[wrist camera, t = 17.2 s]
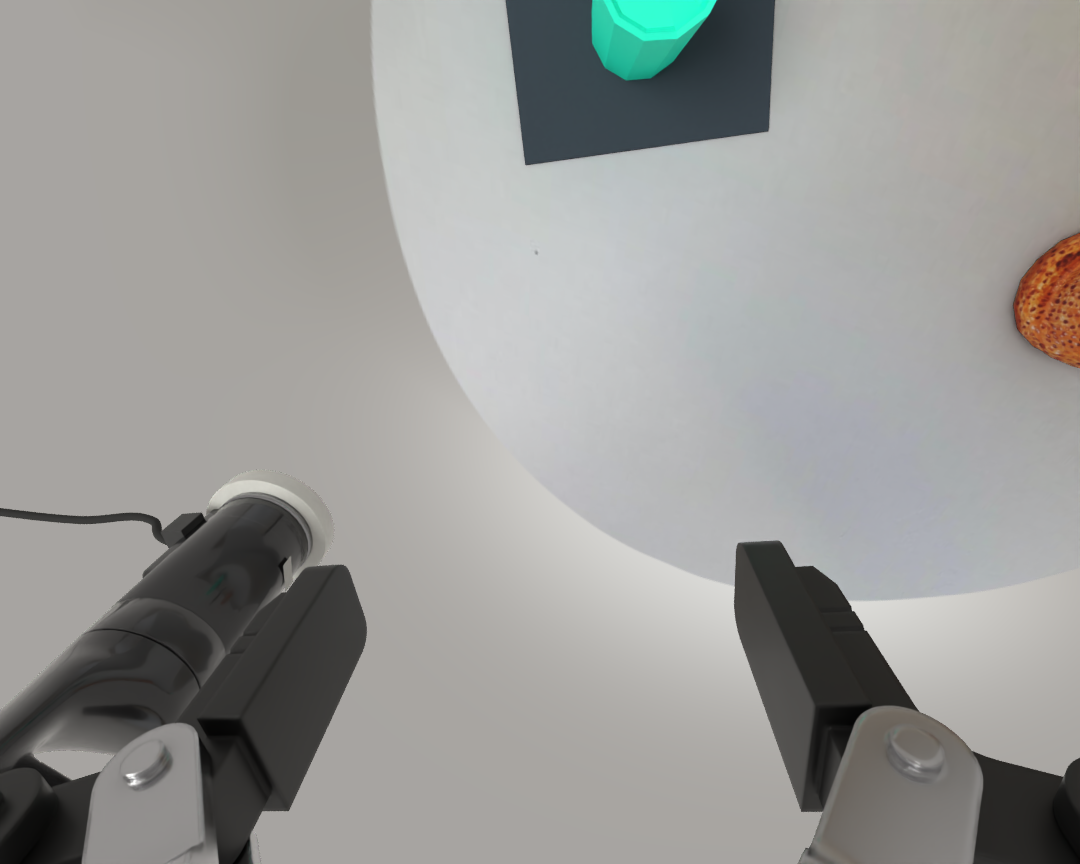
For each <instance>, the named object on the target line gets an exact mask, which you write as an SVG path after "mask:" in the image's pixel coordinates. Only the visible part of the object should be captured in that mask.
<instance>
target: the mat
mask: <svg viewBox="0 0 1080 864" xmlns="http://www.w3.org/2000/svg"><path fill="white" fill-rule="evenodd" d="M774 5H775V0H717V1H716V3H715V5H714V6H713V8H712V10H711V12H710V14H709V15H708V17H707V18H706V19H705V21H704V22H703V23H702V25H701V26H700V27H699V28H698V30H697V31H696V32H695V34H694V35H693V36H692V38H691V39H690V40H689V42H688V43H687V44H686V45H685V47H684V48H683V49H682V51H681V52H680V53H679V55H678V56H677V57H676V59H675V60H674V61H673V62H672V63H671V64H669V65H668V66H667V67H665V68H664V69H663V70H661V71H660V72H659V73H657V74H656V75H655V76H653V77H652V78H650V79H638V80H624V79H623V78H621V77H619V76H618V75H616V74H614V73H613V72H611V71H609V70H608V69H606V68H605V67H604V65H603V63H602V61H601V60H600V58H599V56H598V54H597V52H596V50H595V48H594V46H593V44H592V0H506V7H507V15H508V23H509V32H510V40H511V48H512V57H513V65H514V73H515V82H516V90H517V98H518V107H519V115H520V123H521V132H522V140H523V148H524V157H525V165H530V164H537V163H544V162H551V161H558V160H565V159H572V158H579V157H587V156H594V155H601V154H608V153H615V152H622V151H629V150H637V149H644V148H651V147H658V146H665V145H672V144H679V143H686V142H694V141H701V140H708V139H715V138H722V137H729V136H736V135H743V134H751V133H758V132H765V131H768V128H769V107H770V87H771V66H772V46H773V25H774Z"/></svg>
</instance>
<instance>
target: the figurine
mask: <svg viewBox="0 0 1080 864" xmlns="http://www.w3.org/2000/svg"><path fill="white" fill-rule="evenodd" d="M1013 306H1014V313H1015V319H1016V325H1017V329H1018V330H1019V331H1020V333H1021V334H1022V335H1023V336H1024V337H1025V338H1026V339H1027V340H1028V341H1029V342H1030V343H1031V345H1032V346H1034V347H1036V348H1038V349H1039V350H1041V351H1043V352H1044V353H1046V354H1047V355H1049V356H1050V357H1052V358H1054V359H1057V360H1059V361H1061V362H1064V363H1066V364H1068V365H1071V366H1074V367H1078V368H1080V233H1078V234H1076V235H1074V236H1072V237H1069V238H1067V239H1065V240H1062V241H1060V242H1059V243H1057V244H1056V245H1055V246H1054V247H1052V248H1051V249H1050V250H1049V251H1047V252H1046V253H1045V254H1044V255H1042V256H1041V257H1040V258H1039V259H1037V261H1036V262H1035V263H1034V264H1033V266H1032V267H1031V268H1030V269H1029V270H1028V272H1027V273H1026V274H1025V275H1024V277H1023V278H1022V279H1021V281H1020V284H1019V288H1018V291H1017V294H1016V297H1015V301H1014V304H1013Z"/></svg>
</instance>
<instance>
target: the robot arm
mask: <svg viewBox="0 0 1080 864" xmlns="http://www.w3.org/2000/svg"><path fill="white" fill-rule="evenodd" d="M0 516H6V517H13V518H22V519H30V520H40V521H49V522H60V523H73V524H96V523H107V522H115V521H128V520H136V521H143V522H146V523H149V524H151V525H152V532H153V535H154V537H155V538H156V539H157V540H158V541H160V542H161V543H163V544H165V545H167V546H168V548H169V549H168V550H167V551H166V552H165V553H164V554H163V555H161V556H160V557H159V558H158V559H157V560H156V561H155V562H154V563H152V564H151V565H150V566H149V567H148V568H147V569H146V570H145V571H144V573H143V579H142V580H141V581H140V582H139V583H138V584H137V585H136V586H134V587H133V588H132V589H131V590H130V591H129V592H128V593H127V594H126V595H124V596H123V597H122V598H121V599H120V600H119V601H118V602H117V603H116V604H115V605H113V606H112V607H111V608H110V609H109V610H108V611H107V612H106V613H105V614H104V615H103V616H102V617H101V618H99V619H98V620H97V621H96V622H95V623H94V624H93V625H92V626H91V627H89V628H88V629H87V630H86V631H85V632H84V633H83V634H82V635H81V636H79V637H78V638H77V639H76V640H75V641H74V642H73V643H72V644H71V645H70V646H68V647H67V648H66V649H65V650H64V651H63V652H62V653H61V654H60V655H59V656H58V657H57V658H56V659H55V660H54V661H53V662H51V663H50V665H48V666H47V667H46V668H45V669H44V670H43V671H42V672H41V673H40V674H39V675H38V676H37V677H36V678H35V679H34V680H33V681H31V682H30V683H29V684H28V685H27V686H26V687H25V688H24V689H23V690H22V691H21V692H19V693H18V694H17V695H16V696H15V697H14V698H13V699H12V700H11V701H10V702H9V703H7V704H6V705H5V706H4V707H3V708H2V709H1V710H0V864H261V859H260V852H259V845H258V839H257V835H256V833H255V832H254V830H253V828H254V826H255V824H256V822H257V820H258V818H259V816H260V814H261V812H262V811H289V809H290V807H291V805H292V803H293V801H294V799H295V796H296V794H297V792H298V790H299V788H300V785H301V783H302V781H303V779H304V777H305V775H306V773H307V771H308V768H309V766H310V764H311V762H312V760H313V758H314V755H315V753H316V751H317V749H318V747H319V744H320V742H321V740H322V738H323V736H324V734H325V732H326V729H327V727H328V725H329V723H330V721H331V719H332V716H333V714H334V712H335V710H336V708H337V705H338V703H339V701H340V699H341V697H342V695H343V693H344V691H345V688H346V686H347V684H348V682H349V680H350V677H351V675H352V673H353V671H354V669H355V667H356V664H357V662H358V660H359V658H360V656H361V654H362V652H363V649H364V646H365V642H366V634H367V627H366V620H365V616H364V613H363V610H362V607H361V605H360V602H359V599H358V596H357V593H356V590H355V587H354V584H353V581H352V578H351V575H350V572H349V570H348V569H347V567H346V566H344V565H329V566H310V567H306V568H305V569H304V570H303V571H302V572H301V573H300V574H299V576H298V577H297V579H296V580H295V582H294V583H293V584H292V586H291V587H290V588H289V590H288V591H287V592H285V593H281V592H282V591H283V589H284V588H285V591H286V590H287V589H288V587H289V586H290V585H291V583H292V582H293V578H292V577H293V576H294V574H295V573H296V572H297V570H298V569H299V568H300V567H301V566H302V565H303V564H304V562H305V561H306V560H307V558H308V557H309V555H310V553H311V550H312V546H313V538H312V533H311V530H310V528H309V525H308V523H307V522H306V520H305V519H304V517H303V516H302V515H301V514H300V513H299V512H298V511H297V510H296V509H295V508H294V507H293V506H291V505H290V504H289V503H287V502H285V501H284V500H282V499H280V498H278V497H275V496H272V495H269V494H265V493H259V492H247V493H242V494H238V495H236V496H234V497H232V498H230V499H229V500H228V501H227V502H225V503H224V504H223V505H222V506H221V507H220V508H219V509H213V510H212V511H211V512H210V513H209V514H207V515H206V516H205V517H204V516H203V514H202V513H189V514H182V515H181V516H179V517H178V518H177V519H176V520H174V521H173V522H172V523H171V524H170V525H168V526H167V527H166V528H165V529H164V530H162V527H161V523H160V521H159V520H158V519H157V518H155V517H153V516H150V515H146V514H142V513H120V514H111V515H101V516H67V515H55V514H46V513H36V512H28V511H27V512H26V511H19V510H11V509H3V508H0ZM734 609H735V618H736V624H737V628H738V633H739V636H740V639H741V642H742V645H743V648H744V651H745V653H746V656H747V659H748V662H749V665H750V668H751V671H752V673H753V676H754V679H755V682H756V685H757V687H758V690H759V693H760V696H761V699H762V702H763V704H764V707H765V710H766V713H767V716H768V719H769V721H770V724H771V727H772V730H773V733H774V736H775V738H776V741H777V744H778V747H779V750H780V752H781V755H782V758H783V761H784V764H785V767H786V769H787V772H788V775H789V778H790V780H791V784H792V786H793V789H794V792H795V795H796V798H797V800H798V803H799V806H800V809H801V812H817V811H818V812H823V813H822V816H821V819H820V822H819V825H818V827H817V830H816V833H815V835H814V838H813V841H812V843H811V845H810V847H809V849H808V848H806V849H805V850H804V852H803V853H802V855H801V858H800V860H799V862H798V864H1080V758H1079V759H1077V760H1075V761H1073V762H1072V763H1071V764H1070V765H1069V766H1068V768H1067V770H1066V773H1065V775H1064V777H1061V776H1057V775H1053V774H1049V773H1046V772H1041V771H1038V770H1033V769H1030V768H1025V767H1022V766H1018V765H1014V764H1010V763H1006V762H1002V761H998V760H995V759H992V758H988V757H985V756H983V755H980V754H978V753H975V752H973V751H971V749H970V748H969V747H968V746H967V745H966V744H965V742H964V741H963V740H962V739H961V738H960V737H959V736H957V735H956V734H955V733H954V732H953V731H952V730H950V729H949V728H948V727H946V726H945V725H943V724H942V723H940V722H939V721H937V720H935V719H933V718H932V717H930V716H928V715H926V714H923V713H920V712H919V710H918V709H917V708H916V707H915V705H914V704H913V702H912V700H911V699H910V697H909V696H908V694H907V693H906V691H905V690H904V688H903V686H902V685H901V683H900V682H899V680H898V679H897V677H896V676H895V674H894V673H893V671H892V669H891V668H890V667H889V665H888V663H887V662H886V660H885V658H884V657H883V655H882V654H881V652H880V651H879V649H878V648H877V646H876V644H875V643H874V641H873V640H872V638H871V637H870V635H869V634H868V632H867V631H865V630H864V628H863V624H862V623H861V621H860V620H859V618H858V616H857V615H856V613H855V612H854V611H852V609H851V606H850V604H849V602H848V601H847V599H846V598H845V596H844V595H843V593H842V592H841V590H840V588H839V587H838V585H837V584H836V583H834V582H833V581H832V580H830V579H829V578H828V577H827V576H825V575H824V574H823V573H821V572H820V571H819V570H817V569H816V568H815V567H814V566H804V567H795V566H794V564H793V562H792V560H791V558H790V557H789V555H788V553H787V551H786V550H785V548H784V546H783V545H782V543H781V542H780V541H761V542H744V543H738V545H737V549H736V569H735V597H734ZM66 750H71V751H85V752H93V753H101V754H109V755H115V756H114V757H113V758H112V759H111V760H110V761H109V762H108V763H107V765H106V766H105V767H104V768H103V770H102V771H101V772H98V773H95V774H92V775H88V776H85V777H82V778H79V779H76V780H72V779H70V778H68V777H67V776H65V775H63V774H61V773H60V772H58V771H56V770H55V769H53V768H51V767H49V766H48V765H46V764H44V763H43V762H40V761H39V760H37V759H36V758H35V757H34V754H38V753H43V752H51V751H66Z"/></svg>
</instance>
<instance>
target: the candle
mask: <svg viewBox="0 0 1080 864" xmlns="http://www.w3.org/2000/svg"><path fill="white" fill-rule="evenodd" d="M716 1H717V0H592V44H593V46H594V48H595V50H596V52H597V54H598V56H599V58H600V60H601V61H602V63H603V65H604V67H605V68H606V69H608V70H609V71H611V72H613V73H614V74H616V75H618V76H619V77H621V78H623V79H624V80H638V79H650V78H652V77H653V76H655V75H656V74H657V73H659V72H660V71H661V70H663V69H664V68H665V67H667V66H668V65H669V64H671V63H672V62H673V61H674V60H675V59H676V57H677V56H678V55H679V53H680V52H681V51H682V49H683V48H684V47H685V45H686V44H687V43H688V42H689V40H690V39H691V38H692V36H693V35H694V34H695V32H696V31H697V30H698V28H699V27H700V26H701V25H702V23H703V22H704V21H705V19H706V18H707V17H708V15H709V14H710V12H711V10H712V8H713V6H714V5H715V3H716Z"/></svg>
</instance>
